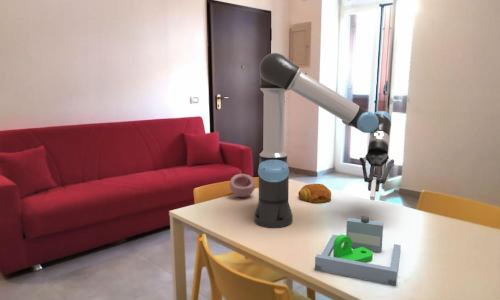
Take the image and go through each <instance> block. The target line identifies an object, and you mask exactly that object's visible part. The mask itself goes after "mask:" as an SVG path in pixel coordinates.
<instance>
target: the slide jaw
mask: <svg viewBox="0 0 500 300" xmlns="http://www.w3.org/2000/svg"><path fill="white" fill-rule="evenodd" d="M360 217H361V219H360V218H352V217H348V218H347V220H346V232H345V233H346V236H348V237H349V238H350V239H351V240H352V249H356V248H360V247H365V248H366V249H368V250H370V251H372V252H375V253H382V250H383V239H384V237H383V236H384V235H383V233H384V222H383V221H375V220H370V216H368V215H361V216H360Z"/></svg>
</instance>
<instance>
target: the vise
mask: <svg viewBox="0 0 500 300" xmlns="http://www.w3.org/2000/svg"><path fill="white" fill-rule="evenodd" d="M337 236H339V235H338V234H332V235H331V237H330V238H329V240H328V242H327V244H325V247H324V249H323V251H322V252H321V254H320V253H316V255H315V258H314V270H315V271H320V272H325V273H329V274H334V275H340V276H344V277H350V278H354V279H355V278H356V279H360V280H365V281H369V282H374V283H381V284H386V285H391V286H397V280H398V271H399V263H400V254H401V244H396V243H395V244H393V248H392V255H391V261H390V266H387V265H386V266H385V265H380V264H374V263H370V262H367V263H364V262H358V261H353V260H347V259H342V258H336V257H333V256H331V255H332V253H333V247H334V241H335V239H336V237H337Z"/></svg>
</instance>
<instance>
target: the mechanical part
mask: <svg viewBox="0 0 500 300" xmlns="http://www.w3.org/2000/svg"><path fill="white" fill-rule="evenodd" d="M332 254H333V255H332V257H336V258H342V259H347V260H353V261H358V262H364V263H370V262H372V261H373V255H374V254H373V251H370V250H368V249H366V248H365V247H360V248H352V240H351V239H350V238H349V237H348V236H346V235H345V234H342V233H341V234H339V235H338V236H337V237H336V239H335V241H334V247H333V251H332Z"/></svg>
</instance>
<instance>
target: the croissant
mask: <svg viewBox="0 0 500 300" xmlns="http://www.w3.org/2000/svg"><path fill="white" fill-rule="evenodd" d="M298 196H299V199H300V200H302V201H305V202H308V201H309V202H308V203H310V204H312V203H314V204H319V203H320V204H321V203H322V204H323V202H324V203H327V202H330V201H332V199H331V198H332V197H331V196H332V191H331V190H330V189H329V188H328V187H327V186H326V185H324V184H322V183H310V184H309V183H308V184H304V185H303V187H301V189H300V190H298Z"/></svg>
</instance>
